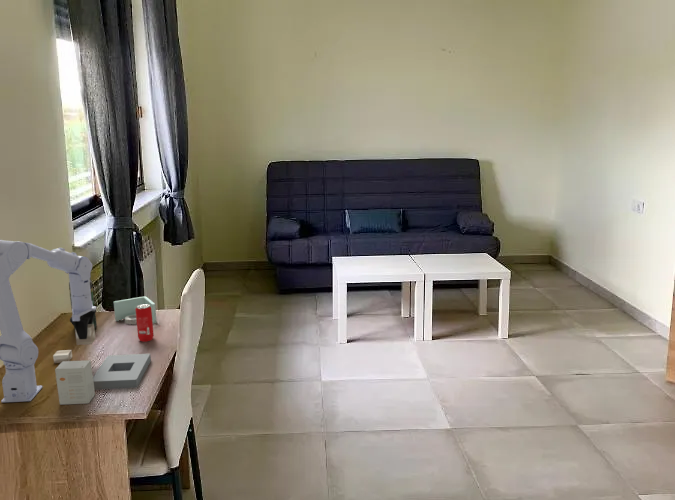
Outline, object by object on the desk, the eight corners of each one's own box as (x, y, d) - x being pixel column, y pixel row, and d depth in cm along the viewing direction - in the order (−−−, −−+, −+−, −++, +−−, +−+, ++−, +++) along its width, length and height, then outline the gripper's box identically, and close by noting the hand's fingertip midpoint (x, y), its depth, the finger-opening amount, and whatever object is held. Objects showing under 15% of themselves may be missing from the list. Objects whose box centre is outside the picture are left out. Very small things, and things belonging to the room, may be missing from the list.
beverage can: (135, 340, 228) (131, 307, 225) (145, 336, 232) (142, 303, 229) (146, 343, 225) (143, 309, 222) (157, 338, 230) (154, 304, 227)
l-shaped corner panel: (115, 320, 250) (113, 301, 248) (147, 314, 256) (145, 296, 254) (123, 329, 240) (121, 309, 238) (156, 323, 246) (155, 303, 244)
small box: (95, 395, 186) (91, 359, 183) (88, 404, 180) (84, 367, 178) (66, 396, 186) (62, 360, 183) (59, 405, 180) (54, 368, 178)
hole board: (137, 387, 190) (136, 379, 189) (90, 389, 189) (89, 381, 189) (150, 360, 209) (150, 353, 209) (108, 362, 209) (108, 355, 208)
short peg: (68, 362, 211) (67, 354, 210) (54, 363, 210) (53, 355, 210) (72, 357, 215) (71, 349, 214) (58, 358, 214) (57, 350, 214)
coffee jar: (73, 325, 245) (67, 276, 241) (95, 321, 248) (90, 273, 244) (74, 333, 237) (68, 282, 232) (97, 329, 240) (92, 279, 235)
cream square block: (91, 344, 206) (89, 328, 204) (76, 344, 205) (75, 329, 204) (95, 339, 210) (93, 324, 209) (81, 339, 210) (79, 324, 208)
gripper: (87, 300, 197) (92, 343, 200) (100, 287, 211) (104, 327, 214) (62, 301, 197) (68, 344, 200) (77, 287, 211) (82, 328, 214)
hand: (85, 336), depth 207 cm, fingers closed on cream square block, 4 cm apart
